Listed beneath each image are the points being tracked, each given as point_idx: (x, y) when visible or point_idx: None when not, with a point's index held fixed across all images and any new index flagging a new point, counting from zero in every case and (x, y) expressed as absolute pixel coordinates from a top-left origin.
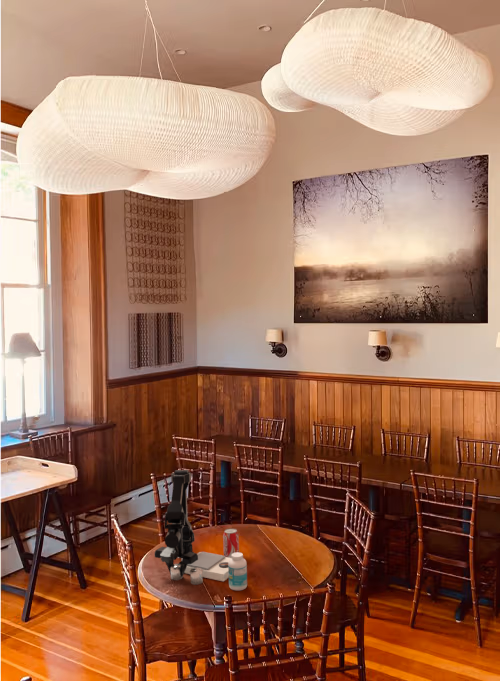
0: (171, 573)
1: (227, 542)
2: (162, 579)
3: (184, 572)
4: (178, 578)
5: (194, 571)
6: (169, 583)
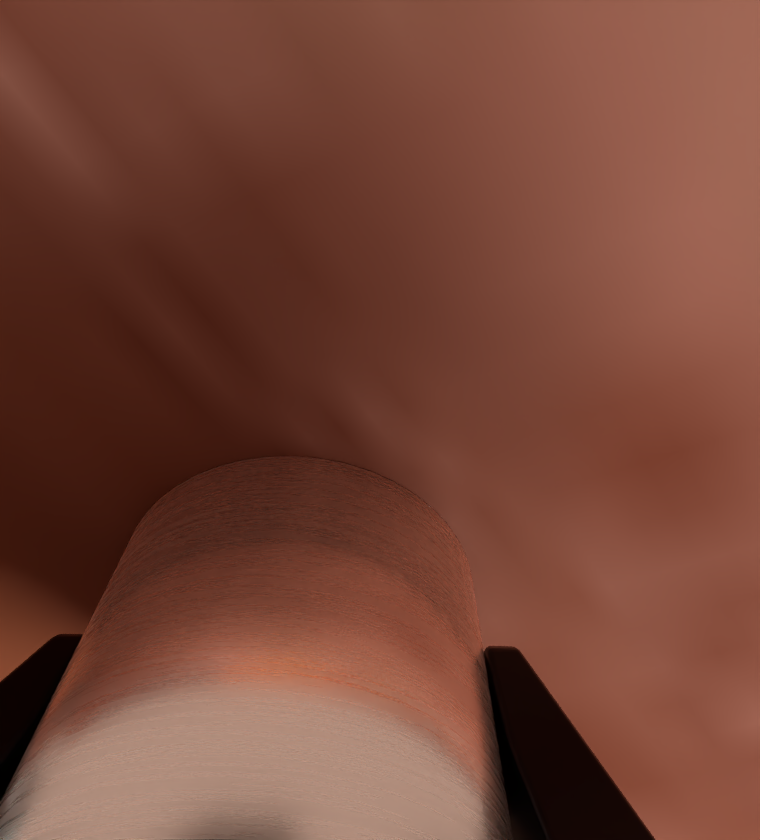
0: (372, 626)
1: None
2: (680, 356)
3: None
4: (132, 541)
5: None
6: (234, 164)
